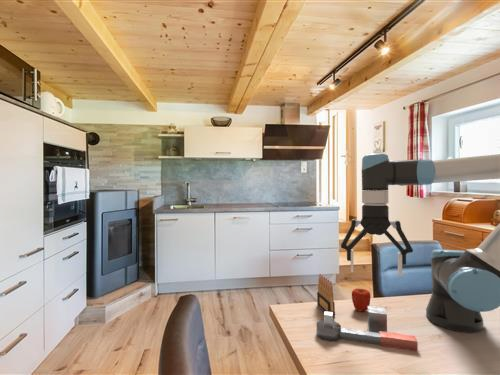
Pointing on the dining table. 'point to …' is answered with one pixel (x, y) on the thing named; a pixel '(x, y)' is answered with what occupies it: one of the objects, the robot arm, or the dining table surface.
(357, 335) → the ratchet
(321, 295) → the ammunition clip
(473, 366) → the dining table surface
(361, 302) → the apple
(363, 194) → the robot arm
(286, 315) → the dining table surface
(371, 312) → the brushed steel cube
